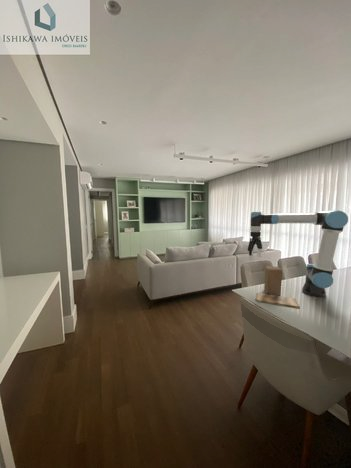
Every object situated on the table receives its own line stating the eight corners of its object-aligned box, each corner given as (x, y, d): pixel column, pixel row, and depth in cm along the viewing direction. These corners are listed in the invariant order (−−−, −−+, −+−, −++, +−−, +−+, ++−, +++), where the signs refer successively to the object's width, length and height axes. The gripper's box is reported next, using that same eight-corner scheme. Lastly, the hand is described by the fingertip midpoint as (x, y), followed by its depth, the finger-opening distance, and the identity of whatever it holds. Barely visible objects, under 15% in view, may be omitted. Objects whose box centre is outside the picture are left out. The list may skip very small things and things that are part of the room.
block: (281, 295, 147) (282, 269, 145) (267, 294, 149) (268, 269, 147) (277, 290, 156) (278, 266, 154) (263, 289, 158) (265, 265, 156)
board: (295, 300, 139) (295, 298, 139) (299, 308, 127) (299, 306, 127) (256, 294, 149) (256, 292, 149) (256, 301, 137) (256, 299, 137)
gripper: (258, 230, 163) (257, 255, 165) (243, 232, 146) (242, 259, 148) (267, 230, 157) (266, 256, 159) (252, 232, 140) (252, 261, 142)
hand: (254, 258), depth 153 cm, fingers open, 13 cm apart
